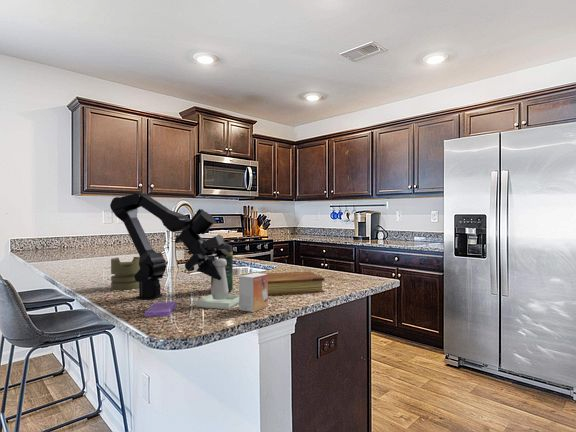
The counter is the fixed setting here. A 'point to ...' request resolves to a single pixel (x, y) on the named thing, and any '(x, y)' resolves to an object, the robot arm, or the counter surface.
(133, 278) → the piston
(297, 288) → the diary
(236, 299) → the tray
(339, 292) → the counter surface
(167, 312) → the sponges
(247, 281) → the small box
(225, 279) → the salt shaker
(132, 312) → the counter surface
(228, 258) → the coffee jar
